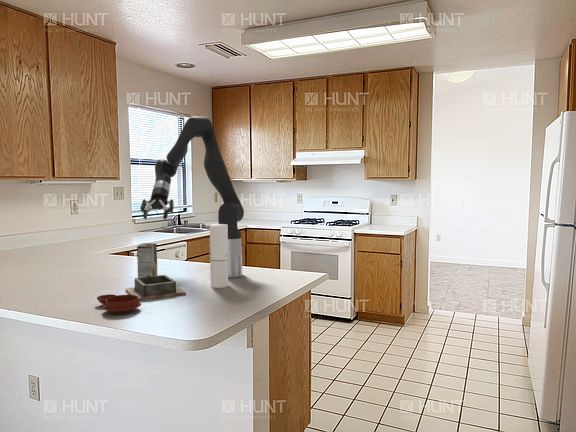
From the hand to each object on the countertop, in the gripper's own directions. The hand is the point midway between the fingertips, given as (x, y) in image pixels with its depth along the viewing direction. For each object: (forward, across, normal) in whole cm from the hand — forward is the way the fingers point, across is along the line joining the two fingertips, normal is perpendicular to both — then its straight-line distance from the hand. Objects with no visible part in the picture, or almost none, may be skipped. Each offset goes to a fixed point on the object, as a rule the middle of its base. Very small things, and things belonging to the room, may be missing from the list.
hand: (154, 218), depth 193 cm
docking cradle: (+40, +8, -3) cm, 41 cm away
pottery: (+55, 0, -18) cm, 58 cm away
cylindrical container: (+33, +31, +5) cm, 45 cm away
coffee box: (+28, 0, +10) cm, 29 cm away
